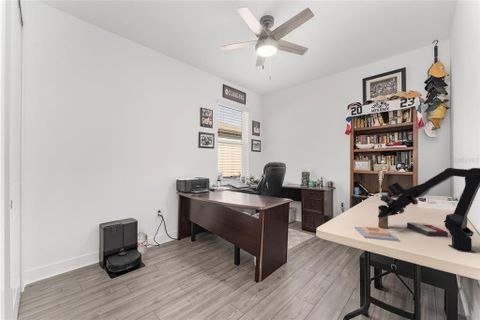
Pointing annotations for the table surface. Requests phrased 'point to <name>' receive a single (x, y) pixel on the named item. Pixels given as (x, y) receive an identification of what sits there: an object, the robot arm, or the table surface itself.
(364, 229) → the plinth
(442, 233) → the grey and red box
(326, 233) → the table surface
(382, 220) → the column
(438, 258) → the table surface
